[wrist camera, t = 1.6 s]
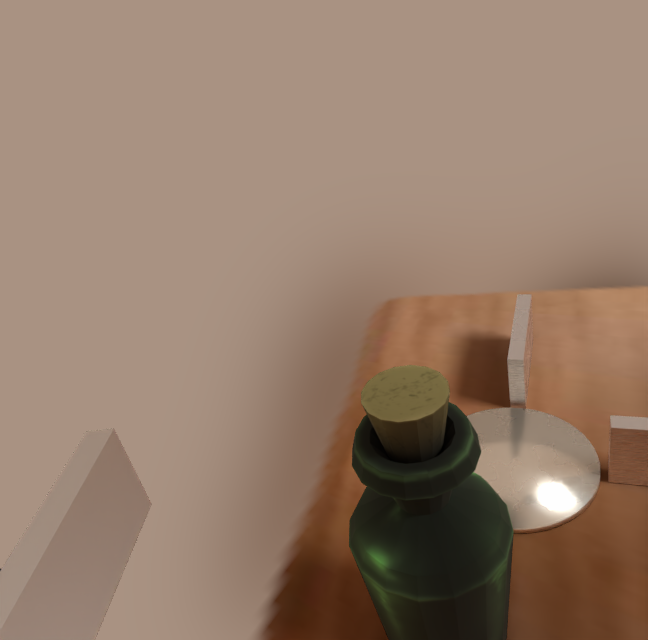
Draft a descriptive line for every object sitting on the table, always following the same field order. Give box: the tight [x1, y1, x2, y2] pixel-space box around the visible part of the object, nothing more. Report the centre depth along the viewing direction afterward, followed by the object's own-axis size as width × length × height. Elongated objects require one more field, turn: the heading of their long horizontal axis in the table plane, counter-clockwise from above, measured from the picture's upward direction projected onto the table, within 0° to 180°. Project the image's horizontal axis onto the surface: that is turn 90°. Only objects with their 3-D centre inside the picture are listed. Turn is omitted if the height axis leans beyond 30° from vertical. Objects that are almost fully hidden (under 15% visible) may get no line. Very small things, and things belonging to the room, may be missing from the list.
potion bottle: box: [349, 365, 514, 640], centre depth 30 cm, size 8×8×18 cm
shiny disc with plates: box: [467, 294, 648, 533], centre depth 43 cm, size 19×24×5 cm
